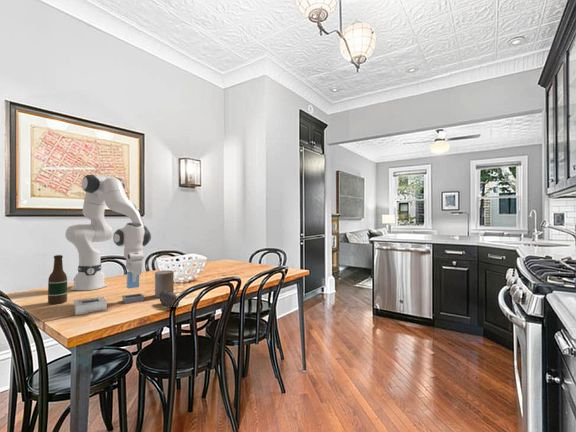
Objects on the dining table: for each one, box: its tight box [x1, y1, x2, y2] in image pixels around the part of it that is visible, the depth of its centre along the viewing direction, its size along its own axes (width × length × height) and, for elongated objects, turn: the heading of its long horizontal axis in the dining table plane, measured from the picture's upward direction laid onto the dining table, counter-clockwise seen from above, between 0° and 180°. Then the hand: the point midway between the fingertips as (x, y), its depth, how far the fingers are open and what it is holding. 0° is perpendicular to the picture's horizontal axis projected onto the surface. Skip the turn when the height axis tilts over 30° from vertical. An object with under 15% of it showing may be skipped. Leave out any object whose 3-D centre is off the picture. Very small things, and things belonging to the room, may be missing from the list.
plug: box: [126, 271, 140, 289], centre depth 159 cm, size 4×5×9 cm
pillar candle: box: [154, 269, 175, 299], centre depth 170 cm, size 10×10×15 cm
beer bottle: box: [47, 254, 68, 306], centre depth 155 cm, size 8×8×24 cm
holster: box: [122, 293, 145, 305], centre depth 158 cm, size 7×9×3 cm
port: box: [73, 296, 108, 316], centre depth 144 cm, size 12×12×4 cm
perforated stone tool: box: [158, 290, 180, 309], centre depth 151 cm, size 15×5×7 cm, turn 47°
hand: (132, 280), depth 159 cm, fingers closed on plug, 4 cm apart
